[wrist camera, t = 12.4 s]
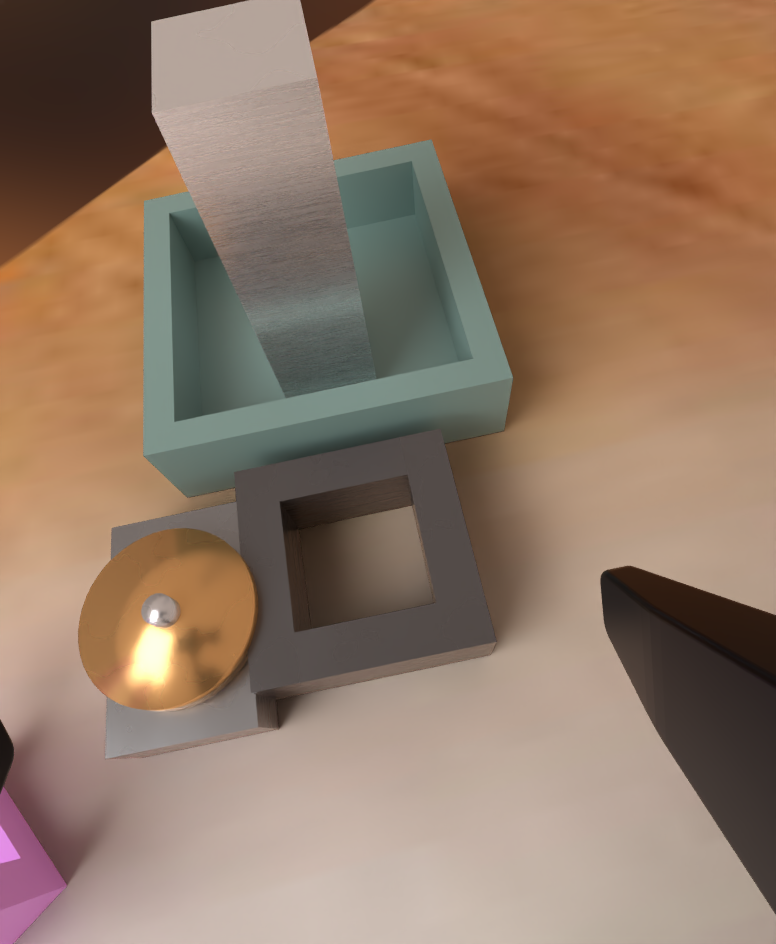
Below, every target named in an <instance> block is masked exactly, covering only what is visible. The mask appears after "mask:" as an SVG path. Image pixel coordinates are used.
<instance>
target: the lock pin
mask: <svg viewBox="0 0 776 944" xmlns="http://www.w3.org/2000/svg"><path fill="white" fill-rule="evenodd" d="M151 24H152V25H151V27H152V114H153V116H154V118H155V120H156V122H157V124H158V127H159V129H160V131H161V133H162V135H163V137H164V139H165V142H166V144H167V146H168V148H169V150H170V152H171V154H172V156H173V159H174V161H175V163H176V165H177V167H178V169H179V171H180V173H181V176H182V178H183V180H184V182H185V184H186V186H187V188H188V191H189V193H190V195H191V197H192V199H193V201H194V203H195V205H196V208H197V210H198V212H199V214H200V216H201V218H202V220H203V223H204V225H205V227H206V229H207V231H208V233H209V235H210V237H211V240H212V242H213V244H214V246H215V248H216V250H217V252H218V254H219V257H220V259H221V261H222V263H223V265H224V267H225V269H226V272H227V274H228V276H229V278H230V280H231V282H232V284H233V286H234V289H235V291H236V293H237V295H238V297H239V299H240V301H241V303H242V306H243V308H244V310H245V312H246V314H247V316H248V318H249V321H250V323H251V325H252V327H253V329H254V331H255V333H256V335H257V338H258V340H259V342H260V344H261V346H262V348H263V350H264V353H265V355H266V357H267V359H268V361H269V363H270V365H271V367H272V370H273V372H274V374H275V376H276V378H277V380H278V382H279V384H280V387H281V389H282V391H283V393H284V395H285V397H286V398H290V397H295V396H300V395H304V394H309V393H314V392H318V391H323V390H328V389H333V388H337V387H342V386H347V385H352V384H356V383H361V382H366V381H370V380H375V379H376V373H375V368H374V363H373V358H372V353H371V348H370V343H369V338H368V333H367V328H366V323H365V318H364V313H363V308H362V303H361V298H360V292H359V287H358V282H357V277H356V272H355V267H354V262H353V257H352V252H351V247H350V242H349V237H348V232H347V227H346V222H345V217H344V211H343V206H342V201H341V196H340V191H339V186H338V181H337V176H336V171H335V166H334V161H333V156H332V151H331V146H330V141H329V136H328V130H327V125H326V120H325V115H324V110H323V105H322V100H321V95H320V90H319V85H318V80H317V75H316V71H315V66H314V61H313V57H312V52H311V48H310V43H309V39H308V34H307V30H306V26H305V21H304V16H303V12H302V7H301V3H300V0H250V1H245V2H240V3H236V4H231V5H226V6H222V7H217V8H213V9H208V10H203V11H199V12H194V13H189V14H185V15H180V16H175V17H171V18H166V19H162V20H157V21H152V22H151Z"/></svg>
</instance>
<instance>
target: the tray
mask: <svg viewBox="0 0 776 944" xmlns="http://www.w3.org/2000/svg"><path fill="white" fill-rule="evenodd" d="M334 166H335V171H336V176H337V181H338V186H339V191H340V196H341V201H342V206H343V211H344V217H345V222H346V227H347V232H348V237H349V242H350V247H351V252H352V257H353V262H354V267H355V272H356V277H357V282H358V287H359V292H360V298H361V303H362V308H363V313H364V318H365V323H366V328H367V333H368V338H369V343H370V348H371V353H372V358H373V363H374V368H375V373H376V379H375V380H370V381H366V382H361V383H356V384H352V385H347V386H342V387H337V388H333V389H328V390H323V391H318V392H314V393H309V394H304V395H300V396H295V397H290V398H286V397H285V395H284V393H283V391H282V389H281V387H280V384H279V382H278V380H277V378H276V376H275V374H274V372H273V370H272V367H271V365H270V363H269V361H268V359H267V357H266V355H265V353H264V350H263V348H262V346H261V344H260V342H259V340H258V338H257V335H256V333H255V331H254V329H253V327H252V325H251V323H250V321H249V318H248V316H247V314H246V312H245V310H244V308H243V306H242V303H241V301H240V299H239V297H238V295H237V293H236V291H235V289H234V286H233V284H232V282H231V280H230V278H229V276H228V274H227V272H226V269H225V267H224V265H223V263H222V261H221V259H220V257H219V254H218V252H217V250H216V248H215V246H214V244H213V242H212V240H211V237H210V235H209V233H208V231H207V229H206V227H205V225H204V223H203V220H202V218H201V216H200V214H199V212H198V210H197V208H196V205H195V203H194V201H193V199H192V197H191V195H190V193H189V192H184V193H179V194H175V195H170V196H165V197H161V198H156V199H151V200H147V201H144V427H143V456H144V457H145V458H146V459H147V460H148V461H149V462H150V463H151V464H152V465H153V466H155V467H156V468H157V469H158V470H159V471H160V472H161V473H162V474H163V475H164V476H165V477H166V478H167V479H168V480H169V481H170V482H171V483H172V484H174V485H175V486H176V487H177V488H178V489H179V490H180V491H181V492H182V493H183V494H184V495H185V496H186V497H187V498H188V497H193V496H198V495H202V494H207V493H212V492H217V491H221V490H226V489H231V488H235V477H234V472H237V471H242V470H246V469H251V468H256V467H261V466H265V465H270V464H275V463H280V462H284V461H289V460H294V459H299V458H303V457H308V456H313V455H318V454H322V453H327V452H332V451H336V450H341V449H346V448H351V447H355V446H360V445H365V444H370V443H374V442H379V441H384V440H389V439H393V438H398V437H403V436H408V435H412V434H417V433H422V432H427V431H431V430H436V429H441V432H442V436H443V440H444V443H449V442H454V441H458V440H463V439H468V438H473V437H477V436H482V435H487V434H492V433H496V432H501V431H504V428H505V422H506V416H507V411H508V405H509V399H510V393H511V388H512V382H513V376H512V373H511V370H510V367H509V364H508V361H507V358H506V355H505V352H504V350H503V347H502V344H501V341H500V338H499V335H498V332H497V329H496V326H495V323H494V320H493V317H492V315H491V312H490V309H489V306H488V303H487V300H486V297H485V294H484V291H483V288H482V285H481V283H480V280H479V277H478V274H477V271H476V268H475V265H474V262H473V259H472V256H471V253H470V250H469V248H468V245H467V242H466V239H465V236H464V233H463V230H462V227H461V224H460V221H459V218H458V216H457V213H456V210H455V207H454V204H453V201H452V198H451V195H450V192H449V189H448V186H447V183H446V181H445V178H444V175H443V172H442V169H441V166H440V163H439V160H438V157H437V154H436V151H435V149H434V146H433V143H432V140H427V141H422V142H418V143H413V144H408V145H404V146H399V147H394V148H390V149H385V150H380V151H376V152H371V153H366V154H362V155H357V156H352V157H348V158H343V159H338V160H334Z"/></svg>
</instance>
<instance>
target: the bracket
mask: <svg viewBox="0 0 776 944" xmlns="http://www.w3.org/2000/svg"><path fill="white" fill-rule="evenodd" d="M66 886H67V885H66V883H65V881H64V880H63V878H62V877H61V875H60V874H59V872H58V871H57V869H56V867H55V866H54V864H53V863H52V861H51V860H50V858H49V856H48V855H47V853H46V852H45V850H44V849H43V847H42V846H41V844H40V842H39V841H38V839H37V838H36V836H35V835H34V833H33V832H32V830H31V828H30V827H29V825H28V824H27V822H26V821H25V819H24V818H23V816H22V814H21V813H20V811H19V810H18V808H17V807H16V805H15V804H14V802H13V800H12V799H11V797H10V796H9V794H8V793H7V791H6V789H5V788H4V786H3V789H2V791H1V794H0V944H13V943H14V942H15V941H16V940H17V939H18V938H19V937H20V936H21V935H22V934H23V933H24V932H25V930H26V929H27V928H28V927H29V926H30V925H31V924H32V923H33V922H34V921H35V920H36V919H37V918H38V916H39V915H40V914H41V913H42V912H43V911H44V910H45V909H46V908H47V907H48V906H49V905H50V904H51V903H52V901H53V900H54V899H55V898H56V897H57V896H58V895H59V894H60V893H61V892H62V891H63V890H64V889H65V888H66Z"/></svg>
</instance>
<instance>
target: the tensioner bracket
mask: <svg viewBox="0 0 776 944" xmlns="http://www.w3.org/2000/svg"><path fill="white" fill-rule="evenodd" d="M234 477H235V490H236V502H233V503H228V504H223V505H219V506H214V507H209V508H204V509H200V510H195V511H190V512H185V513H181V514H176V515H171V516H166V517H162V518H157V519H152V520H147V521H143V522H138V523H133V524H128V525H124V526H119V527H114V528H112V536H111V561H110V562H109V563H108V564H107V565H106V566H105V567H104V569H103V570H102V571H101V572H100V574H99V575H98V577H97V578H96V580H95V581H94V583H93V585H92V586H91V588H90V590H89V592H88V594H87V596H86V599H85V602H84V605H83V608H82V612H81V616H80V621H79V629H78V644H79V650H80V656H81V659H82V663H83V666H84V668H85V670H86V672H87V674H88V676H89V678H90V679H91V680H92V682H93V683H94V685H95V686H96V687H97V688H98V689H99V690H100V691H101V692H102V693H103V694H104V695H106V696H107V712H106V748H105V759H121V758H143V757H148V756H153V755H158V754H163V753H167V752H172V751H177V750H182V749H187V748H191V747H196V746H201V745H206V744H211V743H215V742H220V741H225V740H230V739H235V738H239V737H244V736H249V735H254V734H259V733H263V732H268V731H273V730H278V729H279V725H278V714H277V704H276V700H278V699H283V698H287V697H292V696H297V695H302V694H307V693H311V692H316V691H321V690H326V689H331V688H335V687H340V686H345V685H350V684H355V683H359V682H364V681H369V680H374V679H379V678H383V677H388V676H393V675H398V674H402V673H407V672H412V671H417V670H422V669H426V668H431V667H436V666H441V665H446V664H450V663H455V662H460V661H465V660H470V659H474V658H479V657H484V656H489V655H491V653H492V651H493V649H494V646H495V644H496V642H497V641H496V637H495V634H494V630H493V626H492V622H491V618H490V615H489V611H488V607H487V603H486V599H485V596H484V592H483V588H482V584H481V580H480V577H479V573H478V569H477V565H476V561H475V558H474V554H473V550H472V546H471V542H470V539H469V535H468V531H467V527H466V523H465V520H464V516H463V512H462V508H461V504H460V501H459V497H458V493H457V489H456V485H455V481H454V478H453V474H452V470H451V466H450V462H449V459H448V455H447V451H446V447H445V443H444V440H443V436H442V432H441V429H436V430H431V431H427V432H422V433H417V434H412V435H408V436H403V437H398V438H393V439H389V440H384V441H379V442H374V443H370V444H365V445H360V446H355V447H351V448H346V449H341V450H336V451H332V452H327V453H322V454H318V455H313V456H308V457H303V458H299V459H294V460H289V461H284V462H280V463H275V464H270V465H265V466H261V467H256V468H251V469H246V470H242V471H237V472H234ZM411 505H412V506H413V511H414V515H415V520H416V524H417V529H418V533H419V538H420V542H421V547H422V551H423V556H424V560H425V565H426V569H427V574H428V578H429V583H430V587H431V592H432V596H433V601H434V603H433V604H428V605H423V606H419V607H414V608H409V609H404V610H400V611H395V612H390V613H385V614H380V615H376V616H371V617H366V618H361V619H357V620H352V621H347V622H342V623H337V624H333V625H328V626H323V627H318V628H314V629H311V623H310V615H309V607H308V599H307V591H306V583H305V575H304V567H303V559H302V551H301V543H300V535H299V529H302V528H306V527H311V526H316V525H321V524H325V523H330V522H335V521H340V520H344V519H349V518H354V517H359V516H363V515H368V514H373V513H378V512H382V511H387V510H392V509H397V508H401V507H406V506H411Z"/></svg>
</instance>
